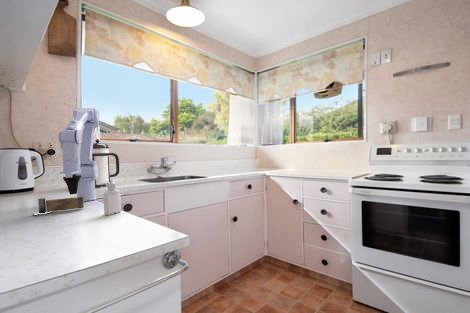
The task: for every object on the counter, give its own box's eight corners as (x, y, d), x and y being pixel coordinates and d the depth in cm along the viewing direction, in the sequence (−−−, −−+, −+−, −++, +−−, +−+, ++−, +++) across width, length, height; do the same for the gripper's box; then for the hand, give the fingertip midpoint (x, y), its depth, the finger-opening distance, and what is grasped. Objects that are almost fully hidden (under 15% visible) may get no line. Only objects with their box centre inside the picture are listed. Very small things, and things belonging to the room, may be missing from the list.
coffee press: (106, 187, 147) (104, 138, 146) (80, 188, 147) (78, 139, 146) (120, 183, 164) (118, 139, 163) (97, 184, 165) (95, 140, 164)
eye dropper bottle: (122, 212, 85) (121, 179, 85) (105, 215, 82) (103, 180, 82) (120, 210, 89) (118, 178, 89) (103, 213, 86) (101, 179, 85)
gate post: (36, 212, 89) (35, 198, 89) (52, 211, 92) (51, 196, 91) (31, 216, 85) (30, 200, 85) (49, 214, 87) (48, 198, 87)
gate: (46, 212, 88) (45, 201, 88) (47, 211, 90) (46, 200, 89) (83, 207, 93) (82, 197, 93) (83, 207, 94) (83, 196, 94)
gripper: (63, 160, 101) (65, 192, 101) (54, 161, 88) (56, 198, 88) (83, 159, 104) (84, 190, 104) (77, 160, 91) (79, 196, 91)
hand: (73, 194), depth 96 cm, fingers closed
